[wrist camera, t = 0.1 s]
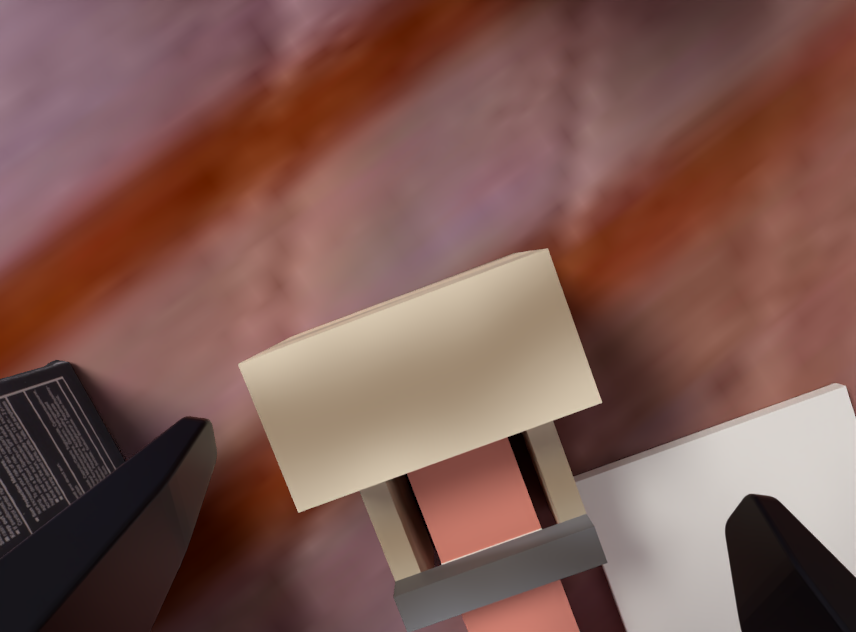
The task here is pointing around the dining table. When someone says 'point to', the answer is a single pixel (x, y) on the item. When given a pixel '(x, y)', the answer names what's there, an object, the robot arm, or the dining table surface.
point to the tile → (719, 507)
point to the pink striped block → (488, 531)
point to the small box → (47, 449)
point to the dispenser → (437, 421)
